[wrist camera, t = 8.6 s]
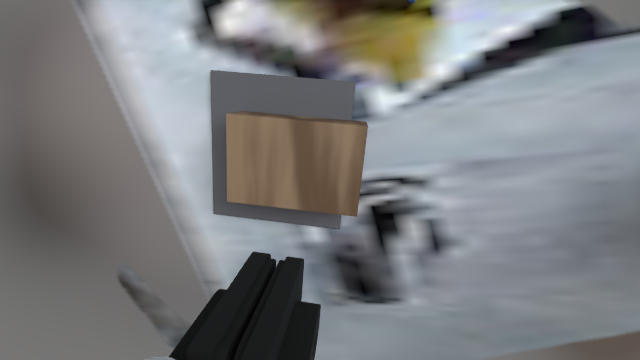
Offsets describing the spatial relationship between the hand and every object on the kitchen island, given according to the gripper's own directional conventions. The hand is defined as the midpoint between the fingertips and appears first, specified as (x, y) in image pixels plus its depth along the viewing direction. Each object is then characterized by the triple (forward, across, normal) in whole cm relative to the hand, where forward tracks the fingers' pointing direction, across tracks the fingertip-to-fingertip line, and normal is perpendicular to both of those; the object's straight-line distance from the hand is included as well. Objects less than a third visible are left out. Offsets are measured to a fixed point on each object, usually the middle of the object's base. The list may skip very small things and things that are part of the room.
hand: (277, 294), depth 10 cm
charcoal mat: (+22, +6, 0) cm, 23 cm away
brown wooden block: (+19, -3, 0) cm, 19 cm away
